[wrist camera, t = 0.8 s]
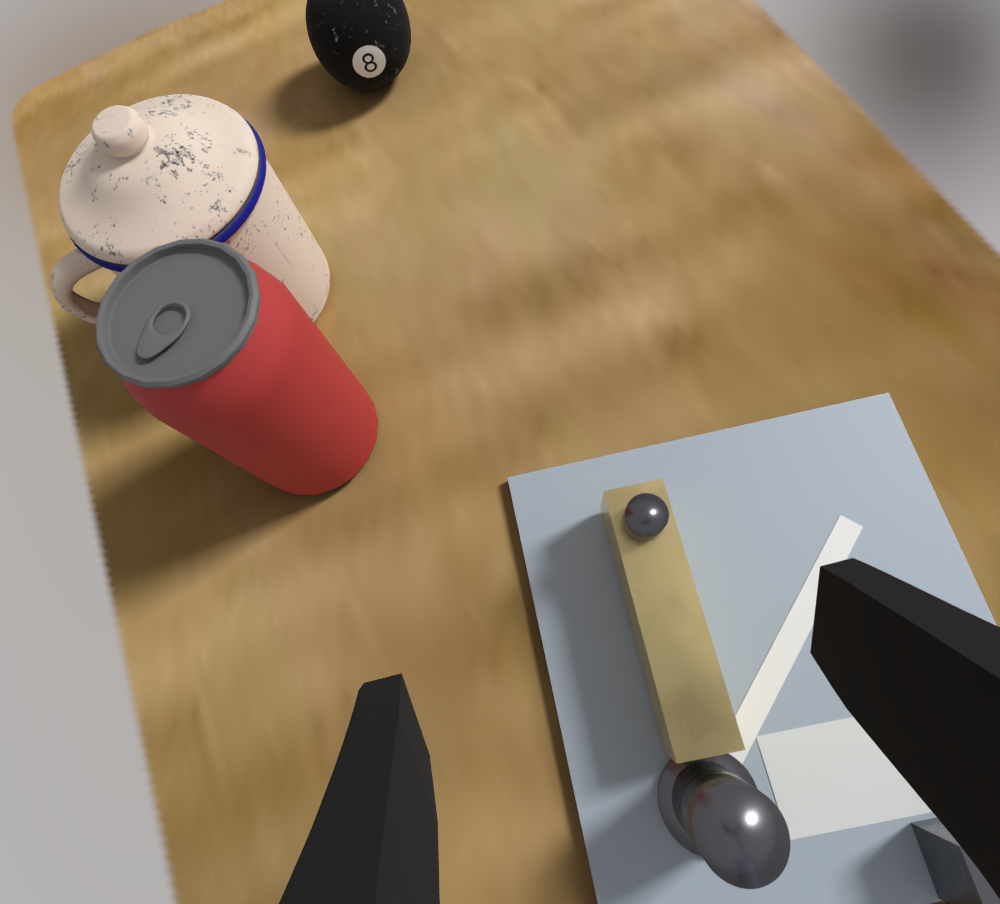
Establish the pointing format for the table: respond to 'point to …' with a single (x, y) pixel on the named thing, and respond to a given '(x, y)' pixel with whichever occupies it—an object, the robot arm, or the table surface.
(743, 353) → the table surface
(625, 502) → the swing bar
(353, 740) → the robot arm
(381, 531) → the table surface
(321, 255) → the teacup with lid
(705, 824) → the door knob
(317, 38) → the billiard ball
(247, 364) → the beer can
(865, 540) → the door panel
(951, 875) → the block
